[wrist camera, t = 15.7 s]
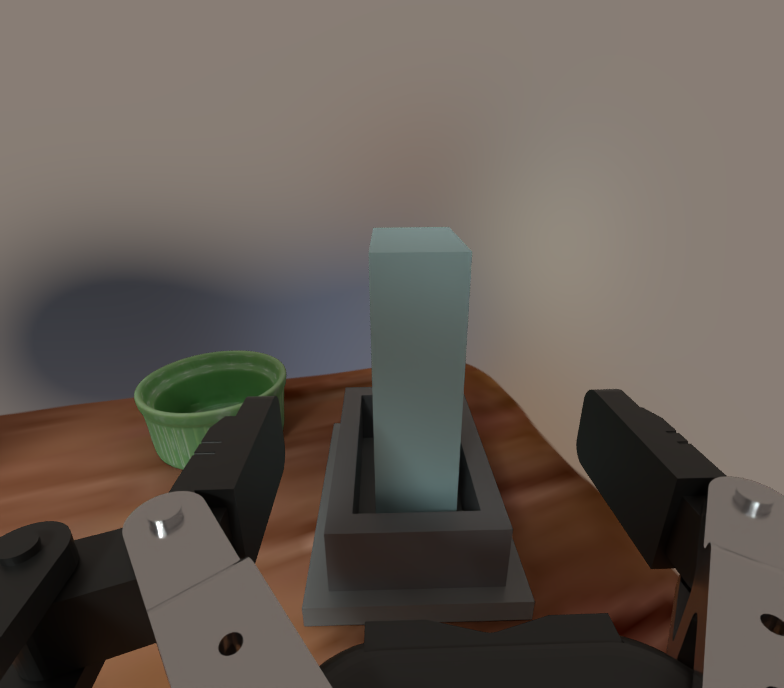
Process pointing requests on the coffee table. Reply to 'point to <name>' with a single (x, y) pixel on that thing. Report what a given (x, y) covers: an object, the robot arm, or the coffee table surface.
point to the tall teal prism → (418, 365)
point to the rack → (410, 541)
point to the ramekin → (203, 397)
